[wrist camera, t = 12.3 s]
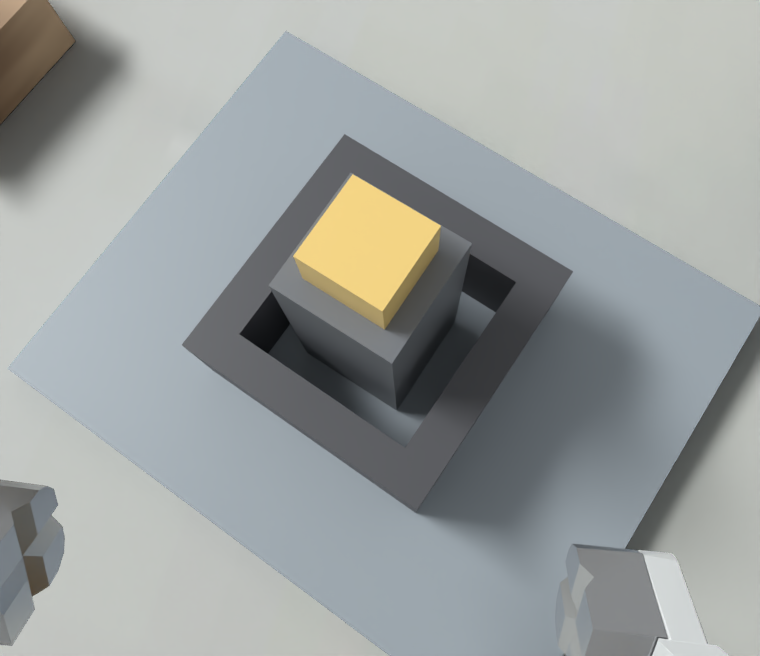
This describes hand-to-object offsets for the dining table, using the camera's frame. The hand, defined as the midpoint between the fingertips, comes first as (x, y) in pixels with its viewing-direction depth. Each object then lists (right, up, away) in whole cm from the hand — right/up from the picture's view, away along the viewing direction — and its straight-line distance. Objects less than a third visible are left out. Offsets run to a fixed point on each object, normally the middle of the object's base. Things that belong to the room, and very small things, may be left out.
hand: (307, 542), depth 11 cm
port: (+1, +3, +14) cm, 14 cm away
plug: (+1, +3, +13) cm, 13 cm away
